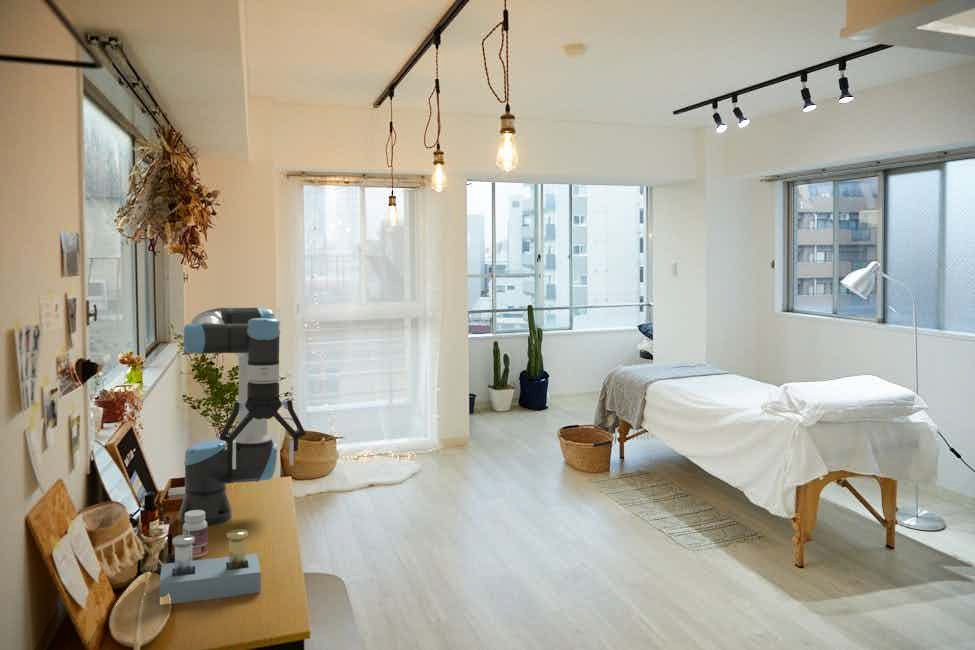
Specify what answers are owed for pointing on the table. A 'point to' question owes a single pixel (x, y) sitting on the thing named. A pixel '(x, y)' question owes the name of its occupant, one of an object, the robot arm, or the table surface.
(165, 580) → the socket block
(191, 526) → the pill bottle
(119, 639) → the table surface
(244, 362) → the robot arm
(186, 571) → the small lidded jar
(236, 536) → the glass jar
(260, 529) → the table surface
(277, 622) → the table surface
